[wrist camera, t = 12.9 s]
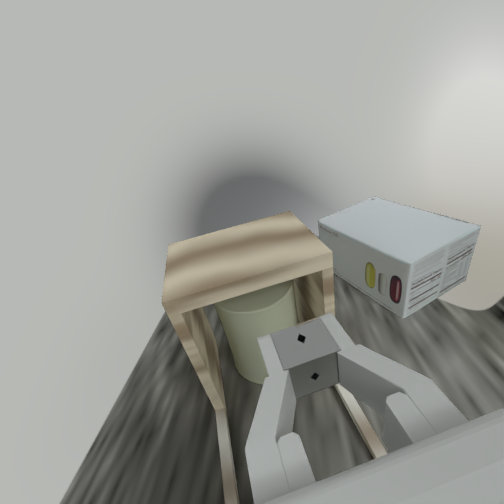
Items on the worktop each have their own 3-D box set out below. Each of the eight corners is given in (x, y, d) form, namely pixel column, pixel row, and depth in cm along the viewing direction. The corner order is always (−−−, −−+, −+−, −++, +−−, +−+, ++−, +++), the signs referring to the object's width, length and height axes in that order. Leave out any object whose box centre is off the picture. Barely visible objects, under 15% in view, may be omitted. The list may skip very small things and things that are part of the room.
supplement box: (319, 265, 48) (315, 219, 43) (372, 239, 51) (374, 194, 47) (402, 321, 34) (411, 263, 29) (466, 280, 38) (483, 222, 33)
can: (317, 366, 31) (309, 288, 25) (244, 397, 29) (216, 323, 23) (286, 315, 39) (274, 247, 32) (227, 338, 37) (202, 270, 31)
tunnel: (449, 566, 17) (544, 454, 9) (244, 658, 16) (122, 630, 7) (303, 314, 38) (289, 210, 30) (210, 344, 37) (168, 244, 28)
